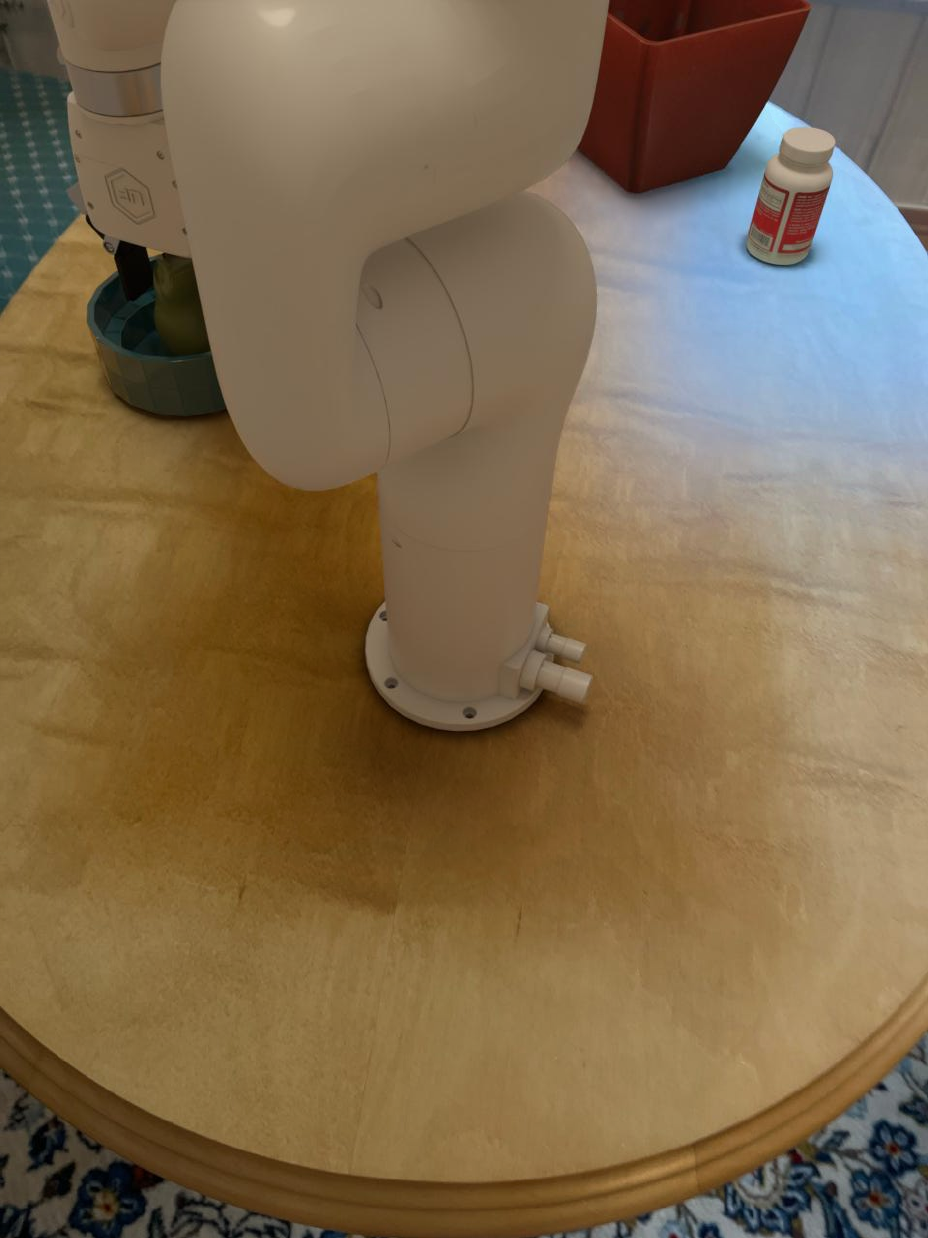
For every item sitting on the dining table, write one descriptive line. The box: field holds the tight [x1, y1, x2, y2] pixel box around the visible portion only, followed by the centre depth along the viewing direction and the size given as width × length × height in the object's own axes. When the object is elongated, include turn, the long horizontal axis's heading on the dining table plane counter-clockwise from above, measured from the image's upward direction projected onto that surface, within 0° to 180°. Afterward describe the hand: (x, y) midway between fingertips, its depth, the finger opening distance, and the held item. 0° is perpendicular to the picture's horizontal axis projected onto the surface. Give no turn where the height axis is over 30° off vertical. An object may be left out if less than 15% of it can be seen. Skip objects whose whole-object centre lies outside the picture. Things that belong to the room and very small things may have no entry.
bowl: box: [86, 254, 227, 417], centre depth 82 cm, size 15×15×6 cm
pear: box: [153, 252, 211, 357], centre depth 79 cm, size 6×5×10 cm
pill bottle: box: [745, 126, 836, 266], centre depth 92 cm, size 6×6×11 cm
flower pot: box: [576, 0, 813, 195], centre depth 100 cm, size 19×19×17 cm
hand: (183, 303), depth 79 cm, fingers open, 7 cm apart
